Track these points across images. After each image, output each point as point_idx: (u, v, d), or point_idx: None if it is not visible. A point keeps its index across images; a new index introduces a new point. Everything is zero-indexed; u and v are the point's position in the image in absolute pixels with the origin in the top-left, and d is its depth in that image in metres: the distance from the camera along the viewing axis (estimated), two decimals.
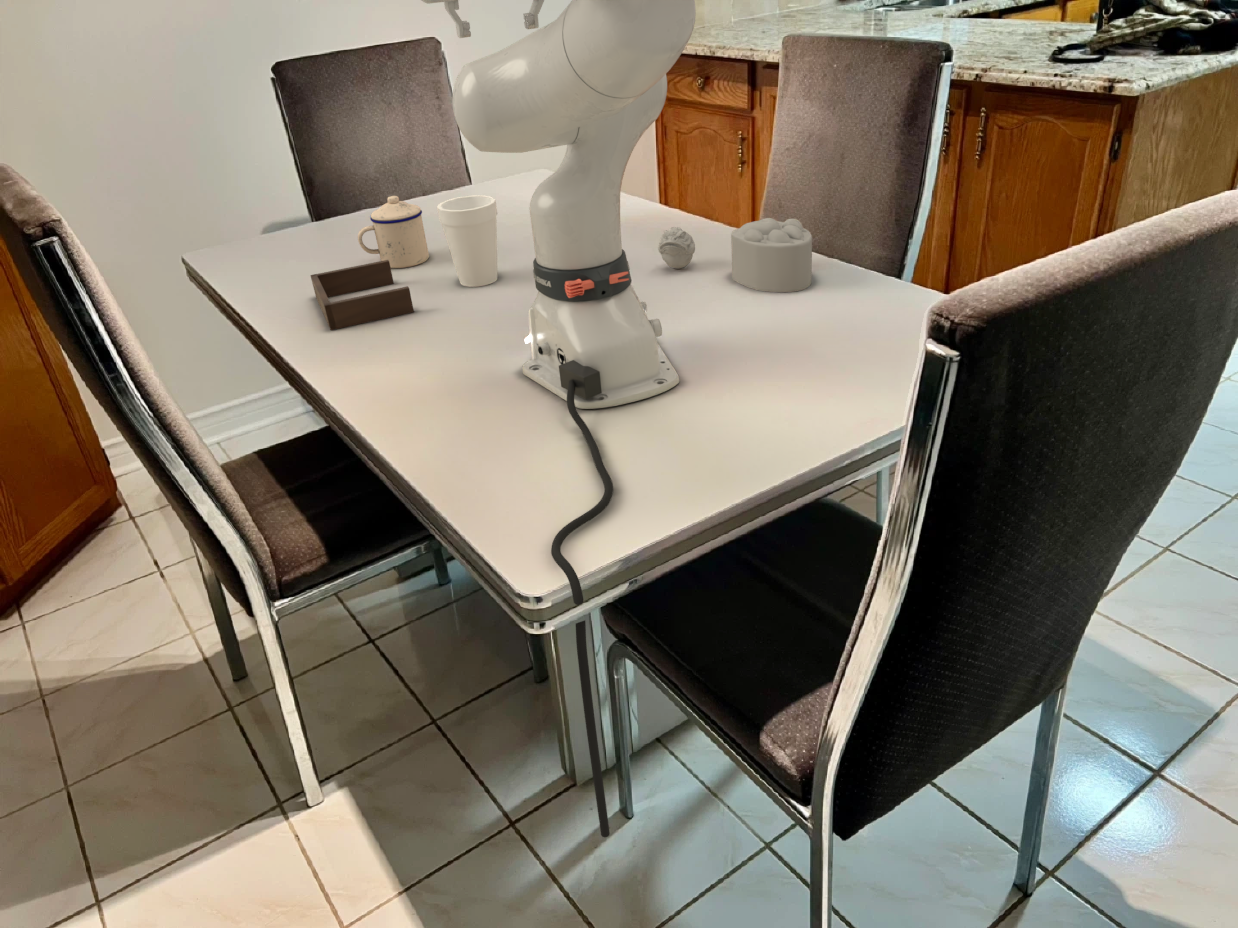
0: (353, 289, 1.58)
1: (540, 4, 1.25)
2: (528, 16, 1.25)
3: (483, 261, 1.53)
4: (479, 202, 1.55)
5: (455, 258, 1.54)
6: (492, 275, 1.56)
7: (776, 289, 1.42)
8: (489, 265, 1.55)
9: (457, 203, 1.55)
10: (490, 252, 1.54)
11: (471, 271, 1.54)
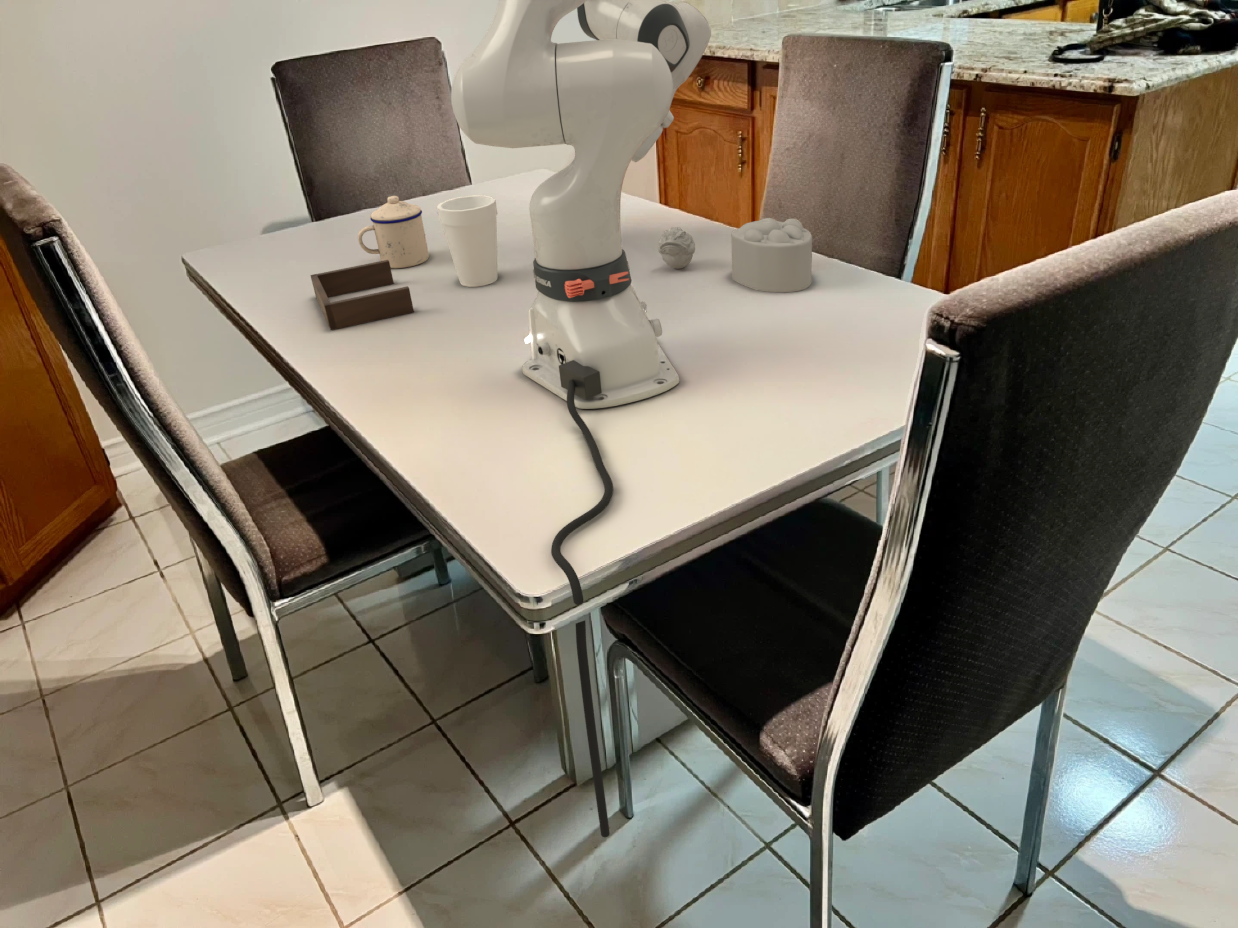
0: (353, 289, 1.58)
1: None
2: None
3: (483, 261, 1.53)
4: (479, 202, 1.55)
5: (455, 258, 1.54)
6: (492, 275, 1.56)
7: (776, 289, 1.42)
8: (489, 265, 1.55)
9: (457, 203, 1.55)
10: (490, 252, 1.54)
11: (471, 271, 1.54)
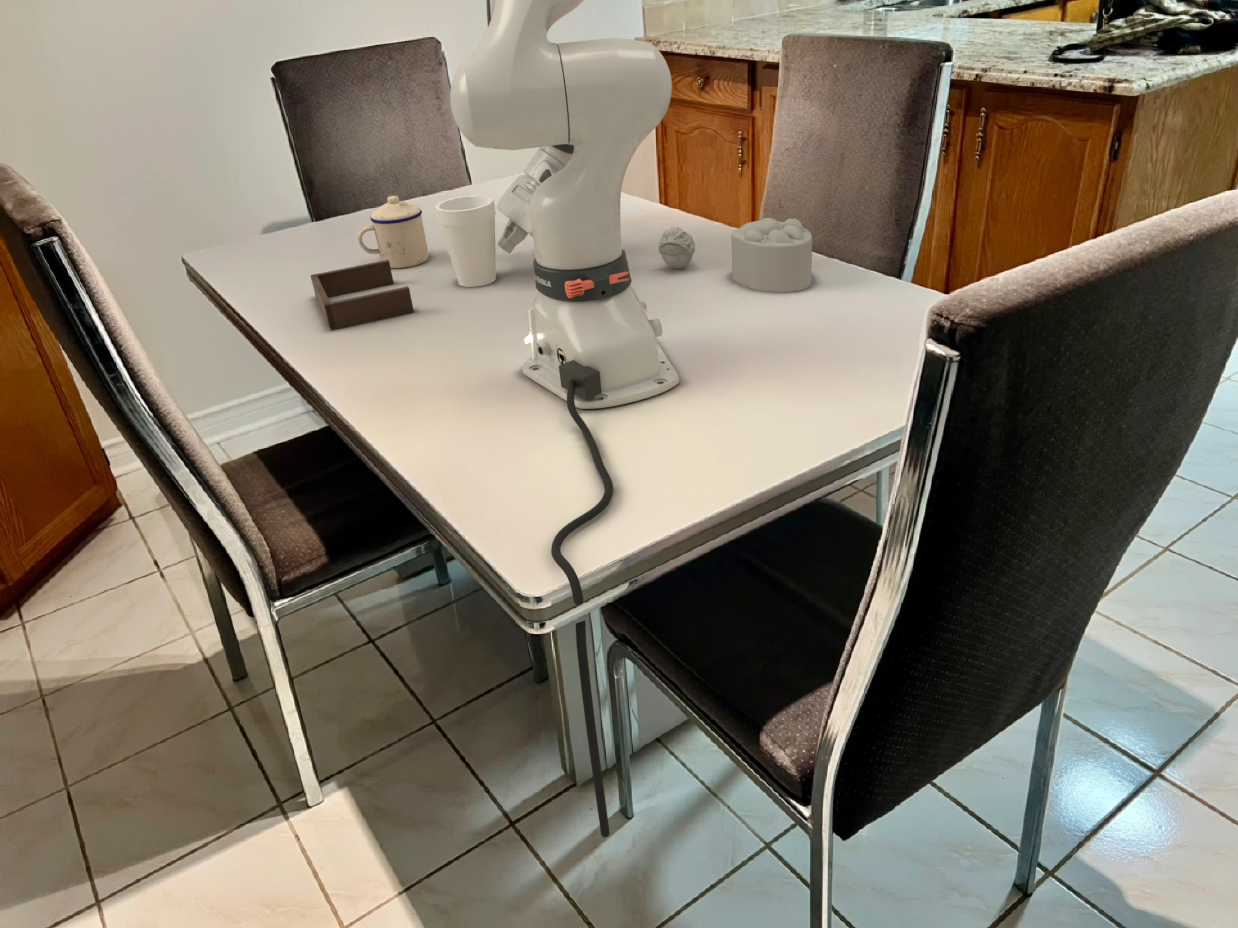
0: (353, 289, 1.58)
1: (511, 234, 1.55)
2: (505, 238, 1.57)
3: (481, 261, 1.53)
4: (477, 202, 1.55)
5: (453, 258, 1.54)
6: (490, 275, 1.56)
7: (776, 289, 1.42)
8: (487, 265, 1.55)
9: (455, 203, 1.55)
10: (488, 252, 1.54)
11: (469, 271, 1.54)
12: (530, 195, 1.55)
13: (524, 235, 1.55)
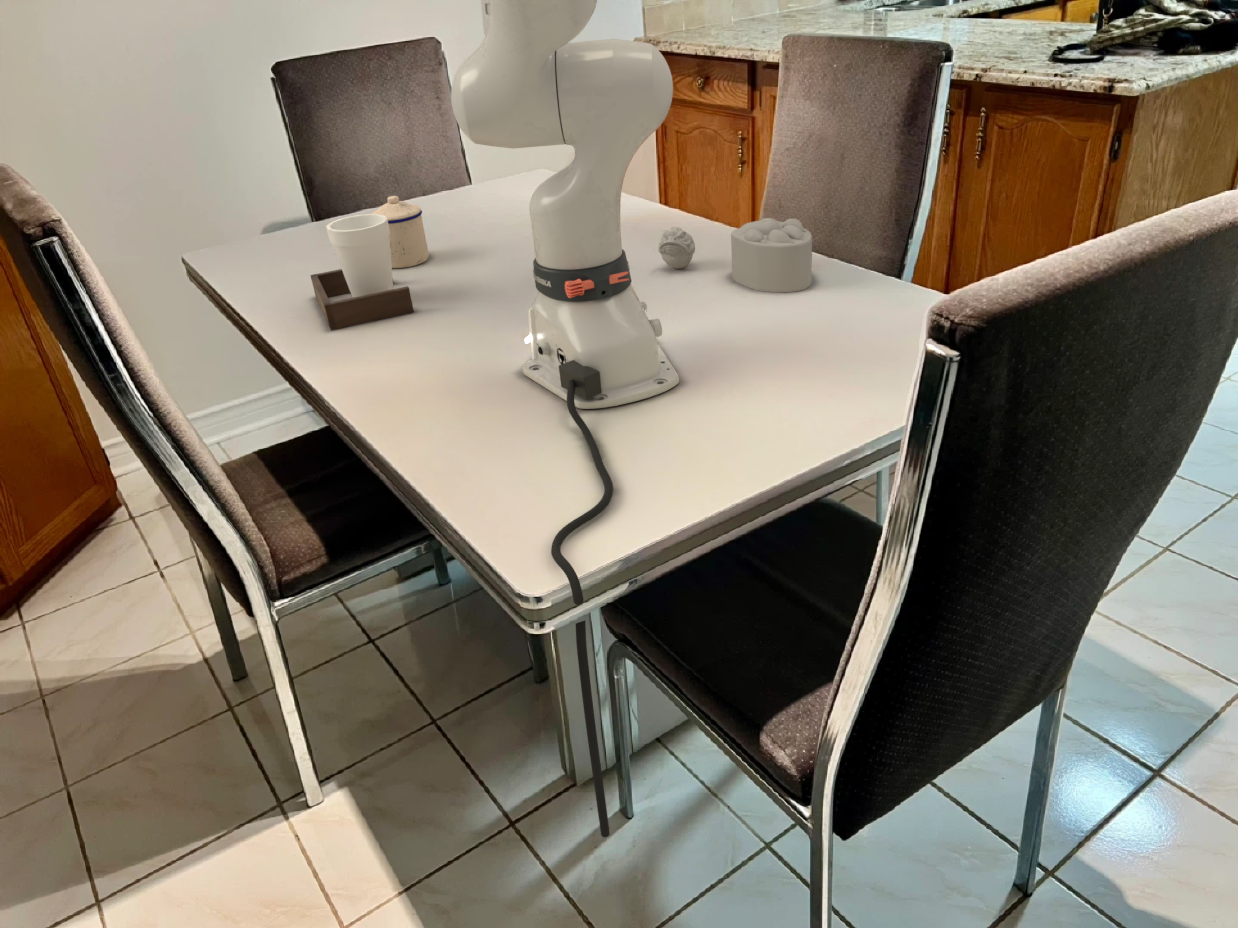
0: None
1: None
2: None
3: (374, 283, 1.49)
4: (374, 221, 1.50)
5: (346, 279, 1.49)
6: None
7: (776, 289, 1.42)
8: (381, 287, 1.50)
9: (351, 222, 1.50)
10: (381, 273, 1.49)
11: (362, 292, 1.49)
12: None
13: None
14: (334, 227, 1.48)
